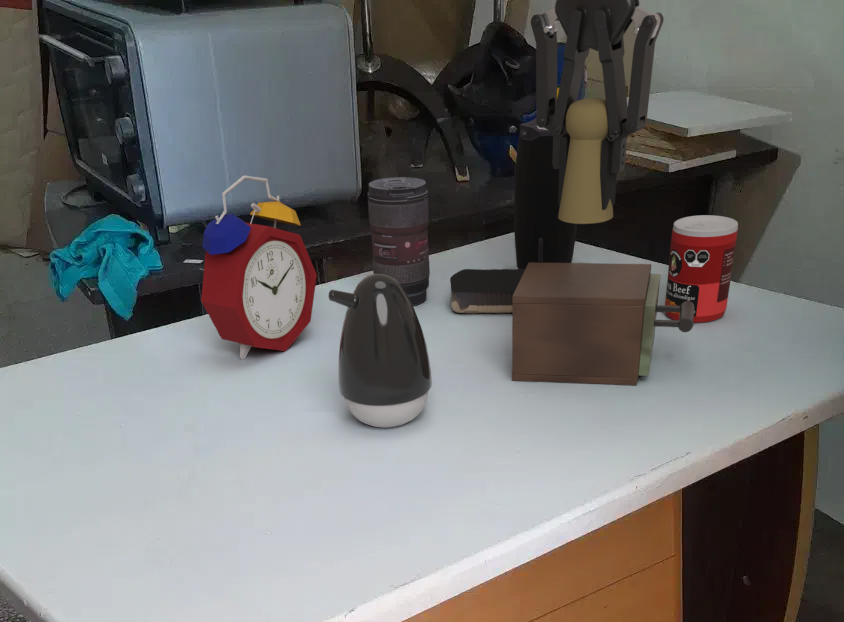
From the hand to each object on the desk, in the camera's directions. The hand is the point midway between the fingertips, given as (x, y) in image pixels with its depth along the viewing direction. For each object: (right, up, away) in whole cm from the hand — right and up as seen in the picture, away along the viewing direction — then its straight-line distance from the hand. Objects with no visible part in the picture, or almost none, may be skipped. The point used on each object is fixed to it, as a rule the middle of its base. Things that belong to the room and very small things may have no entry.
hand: (586, 204), depth 111 cm
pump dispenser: (-22, -23, +3) cm, 32 cm away
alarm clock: (-39, -7, +22) cm, 45 cm away
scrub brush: (-6, +2, +29) cm, 30 cm away
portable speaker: (0, +10, +39) cm, 40 cm away
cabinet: (+1, -13, +12) cm, 18 cm away
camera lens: (-21, +4, +33) cm, 39 cm away
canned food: (+18, -2, +23) cm, 29 cm away
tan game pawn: (0, -1, +1) cm, 1 cm away
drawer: (+5, -13, +11) cm, 17 cm away
